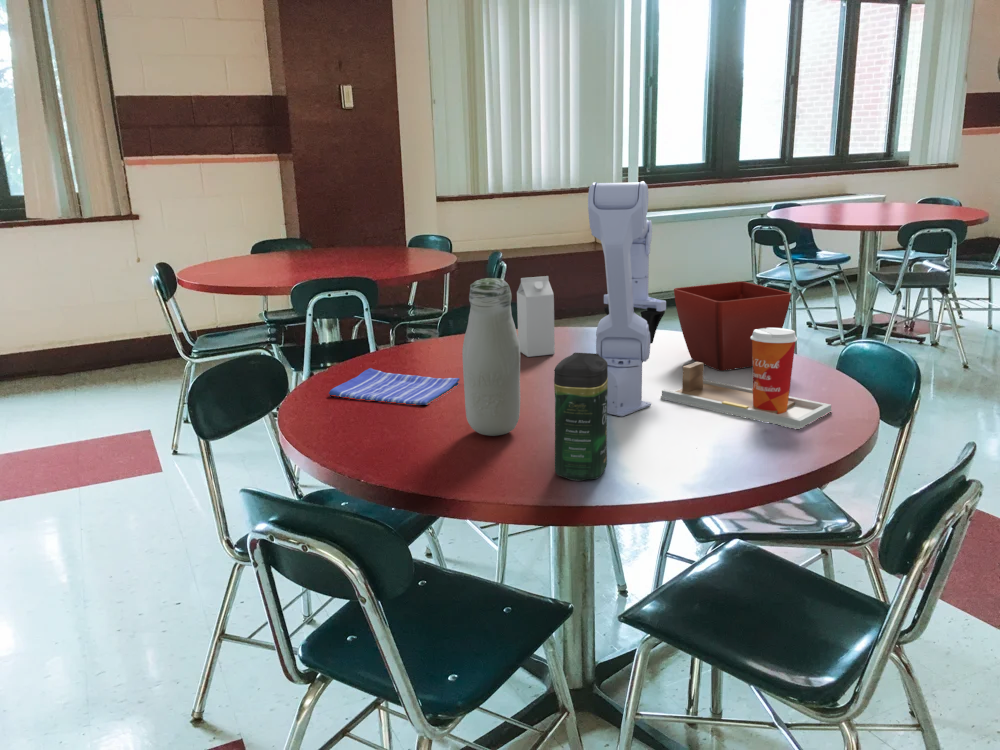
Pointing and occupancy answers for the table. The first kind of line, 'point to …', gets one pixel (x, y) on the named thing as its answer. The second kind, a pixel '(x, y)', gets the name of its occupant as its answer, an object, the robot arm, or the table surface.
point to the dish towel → (394, 387)
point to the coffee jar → (581, 416)
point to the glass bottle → (491, 360)
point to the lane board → (791, 418)
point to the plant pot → (727, 320)
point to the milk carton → (535, 316)
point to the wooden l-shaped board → (714, 388)
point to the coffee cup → (772, 367)
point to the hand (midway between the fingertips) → (633, 341)
